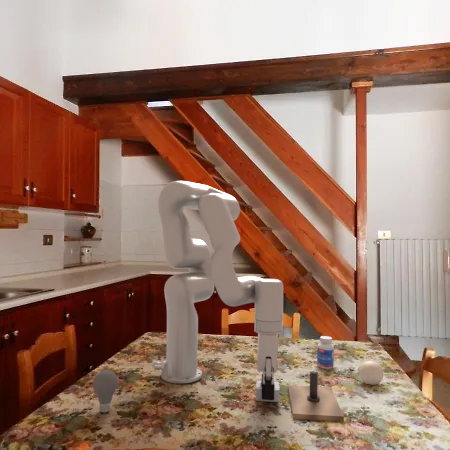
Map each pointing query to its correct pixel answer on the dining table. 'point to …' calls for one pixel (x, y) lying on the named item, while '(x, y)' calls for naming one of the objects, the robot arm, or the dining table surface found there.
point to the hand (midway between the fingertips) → (267, 393)
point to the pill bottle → (325, 353)
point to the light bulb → (105, 388)
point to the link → (259, 391)
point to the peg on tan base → (314, 402)
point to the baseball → (370, 372)
